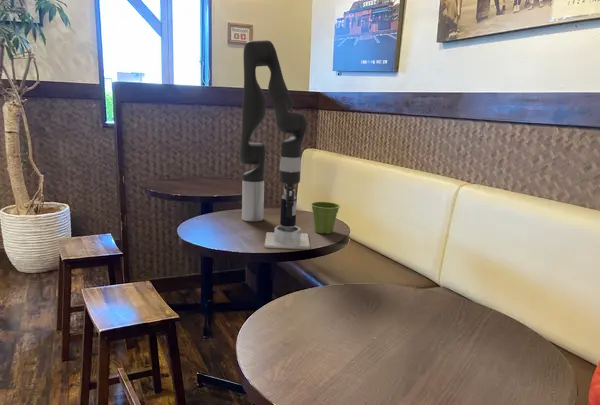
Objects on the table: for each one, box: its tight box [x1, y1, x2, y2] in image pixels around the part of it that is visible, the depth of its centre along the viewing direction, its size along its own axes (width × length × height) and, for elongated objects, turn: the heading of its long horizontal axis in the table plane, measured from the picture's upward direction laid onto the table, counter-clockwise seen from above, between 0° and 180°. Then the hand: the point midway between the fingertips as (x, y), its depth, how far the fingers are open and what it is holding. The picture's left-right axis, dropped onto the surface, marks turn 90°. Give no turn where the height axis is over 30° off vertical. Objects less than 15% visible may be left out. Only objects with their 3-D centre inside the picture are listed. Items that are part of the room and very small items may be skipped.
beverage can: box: [279, 193, 298, 228], centre depth 166 cm, size 6×6×12 cm
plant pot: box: [310, 201, 341, 235], centre depth 183 cm, size 12×12×11 cm
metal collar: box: [264, 225, 311, 250], centre depth 168 cm, size 16×16×5 cm
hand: (288, 214), depth 166 cm, fingers closed on beverage can, 5 cm apart
